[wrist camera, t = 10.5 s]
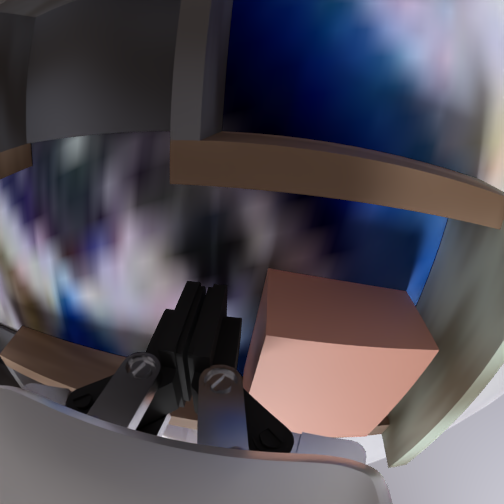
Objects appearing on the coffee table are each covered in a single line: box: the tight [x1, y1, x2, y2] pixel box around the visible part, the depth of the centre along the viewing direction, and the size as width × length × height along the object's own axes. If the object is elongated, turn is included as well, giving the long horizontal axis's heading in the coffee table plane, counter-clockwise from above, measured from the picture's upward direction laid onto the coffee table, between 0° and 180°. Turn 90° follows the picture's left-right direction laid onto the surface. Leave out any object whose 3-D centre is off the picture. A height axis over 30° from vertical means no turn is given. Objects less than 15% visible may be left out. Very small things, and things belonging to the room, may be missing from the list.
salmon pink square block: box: [243, 268, 439, 437], centre depth 13 cm, size 7×7×4 cm
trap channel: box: [0, 0, 504, 468], centre depth 11 cm, size 30×42×6 cm
